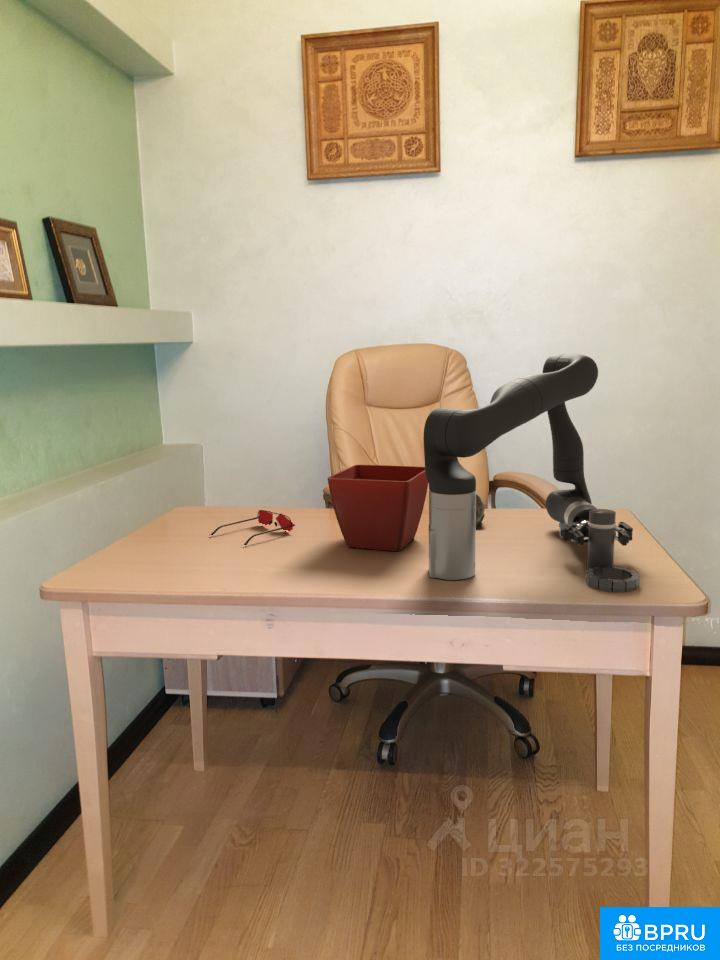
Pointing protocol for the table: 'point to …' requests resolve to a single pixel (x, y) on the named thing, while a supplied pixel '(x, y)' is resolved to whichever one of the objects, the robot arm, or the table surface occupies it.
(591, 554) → the dark grey canister
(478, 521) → the fossil
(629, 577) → the block ring
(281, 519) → the glasses
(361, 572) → the table surface
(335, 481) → the plant pot
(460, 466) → the robot arm
